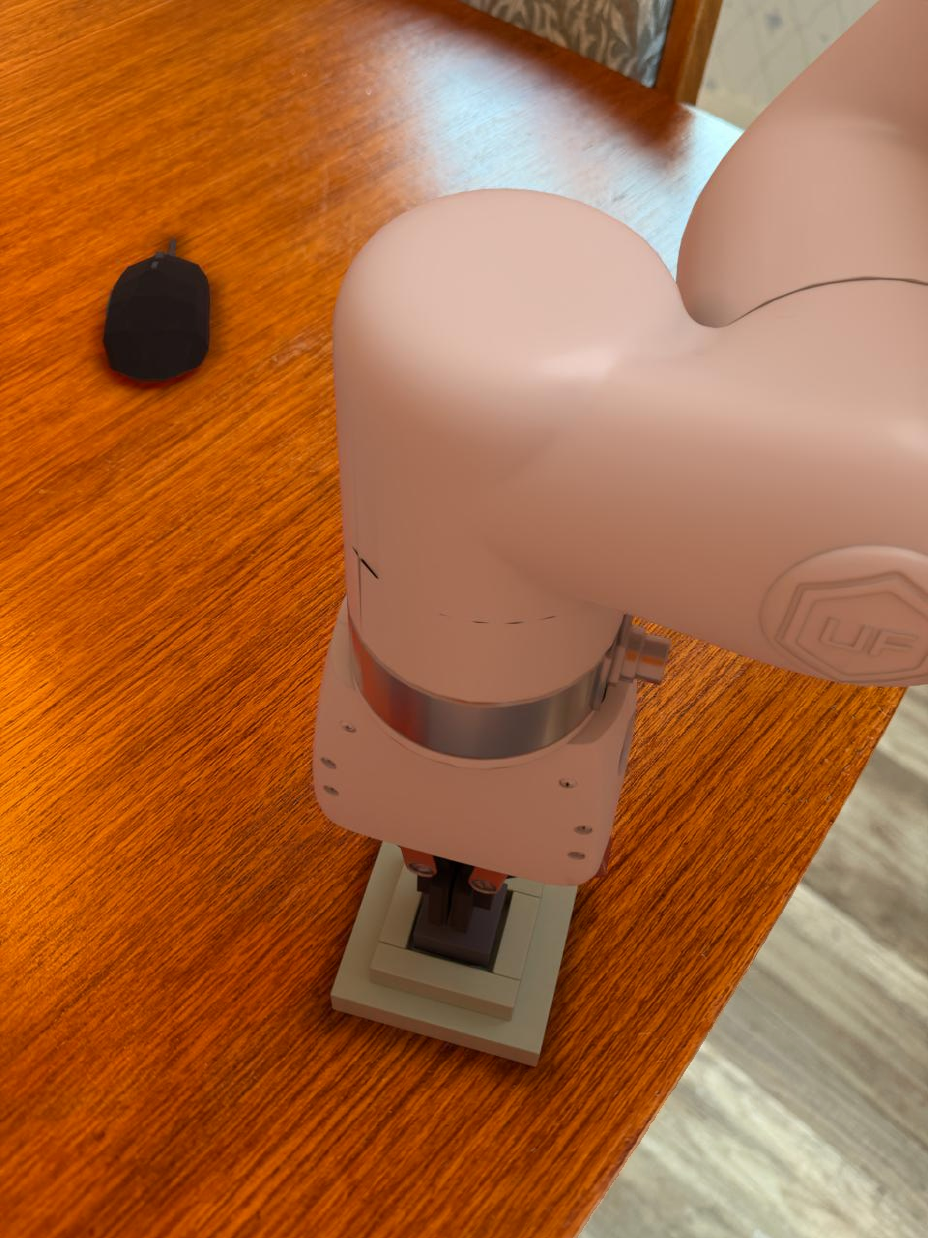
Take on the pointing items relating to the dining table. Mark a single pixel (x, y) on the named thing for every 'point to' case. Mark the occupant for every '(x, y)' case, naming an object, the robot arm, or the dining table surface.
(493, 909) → the key
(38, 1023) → the dining table surface
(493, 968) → the beige stepped square frame
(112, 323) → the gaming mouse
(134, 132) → the dining table surface
